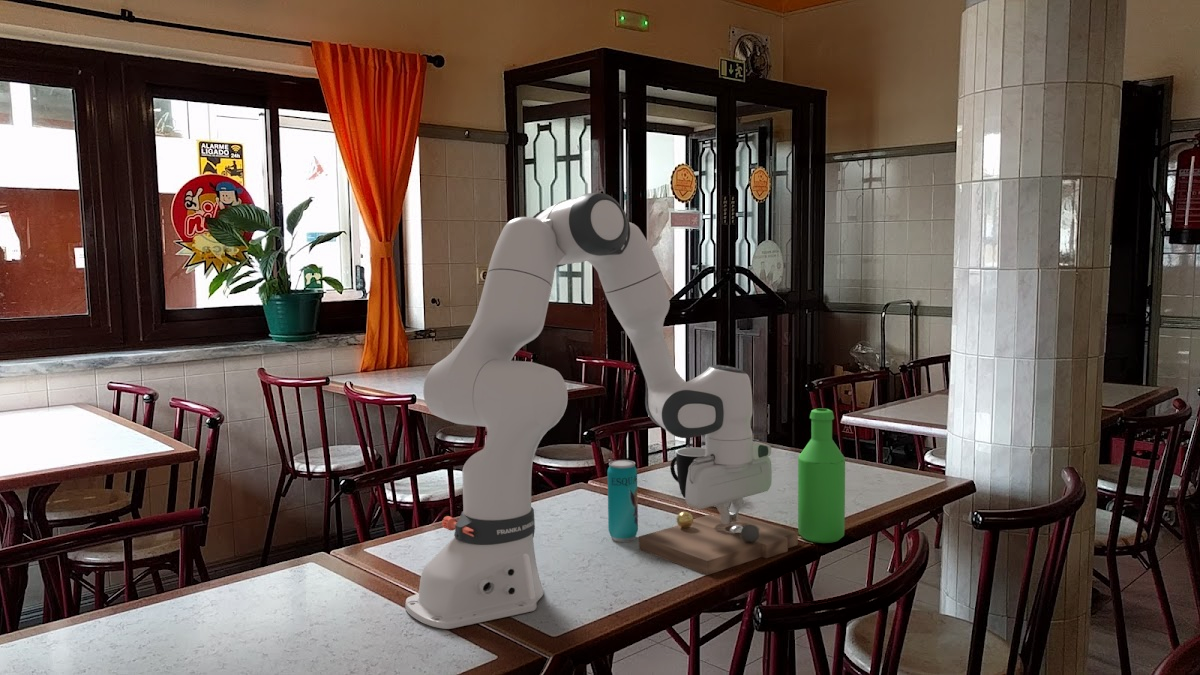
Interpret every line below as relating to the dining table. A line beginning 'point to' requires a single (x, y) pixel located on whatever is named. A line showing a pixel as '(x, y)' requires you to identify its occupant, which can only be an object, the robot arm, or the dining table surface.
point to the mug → (685, 464)
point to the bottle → (821, 483)
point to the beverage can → (622, 500)
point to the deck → (716, 543)
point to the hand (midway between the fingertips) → (729, 522)
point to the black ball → (750, 533)
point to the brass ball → (684, 519)
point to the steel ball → (736, 528)
